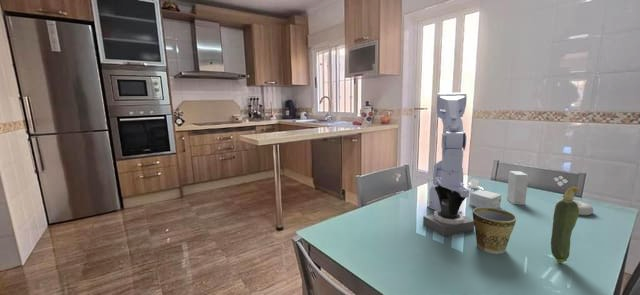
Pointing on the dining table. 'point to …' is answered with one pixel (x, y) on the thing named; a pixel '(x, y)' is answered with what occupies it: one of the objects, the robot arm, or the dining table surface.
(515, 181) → the skincare box
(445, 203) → the lens
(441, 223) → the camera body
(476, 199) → the small box
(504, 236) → the ceramic cup
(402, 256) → the dining table surface
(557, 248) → the vegetable
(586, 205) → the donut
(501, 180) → the dining table surface
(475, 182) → the teacup and saucer
